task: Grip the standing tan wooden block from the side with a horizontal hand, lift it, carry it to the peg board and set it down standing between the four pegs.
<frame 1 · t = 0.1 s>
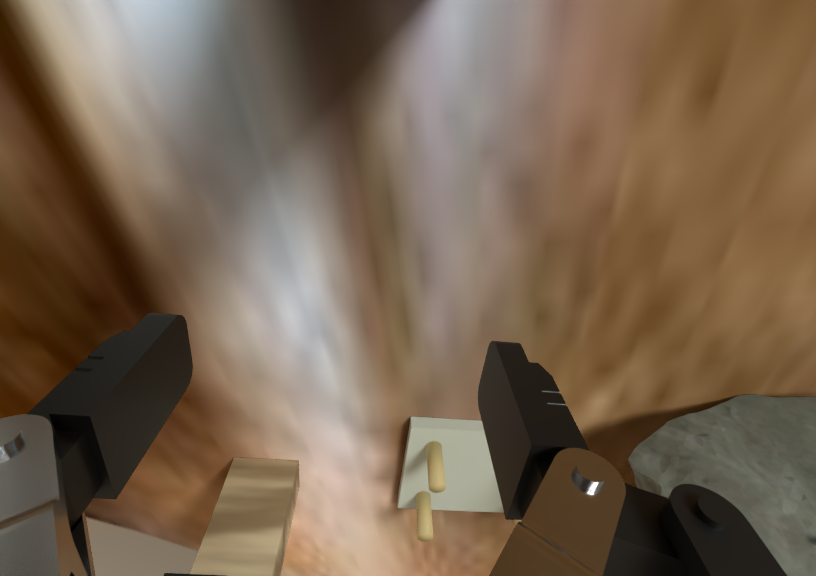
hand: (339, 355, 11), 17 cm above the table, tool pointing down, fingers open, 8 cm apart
tan wooden block: (267, 472, 41), on the table
rock: (733, 394, 37), on the table
peg board: (475, 463, 41), on the table
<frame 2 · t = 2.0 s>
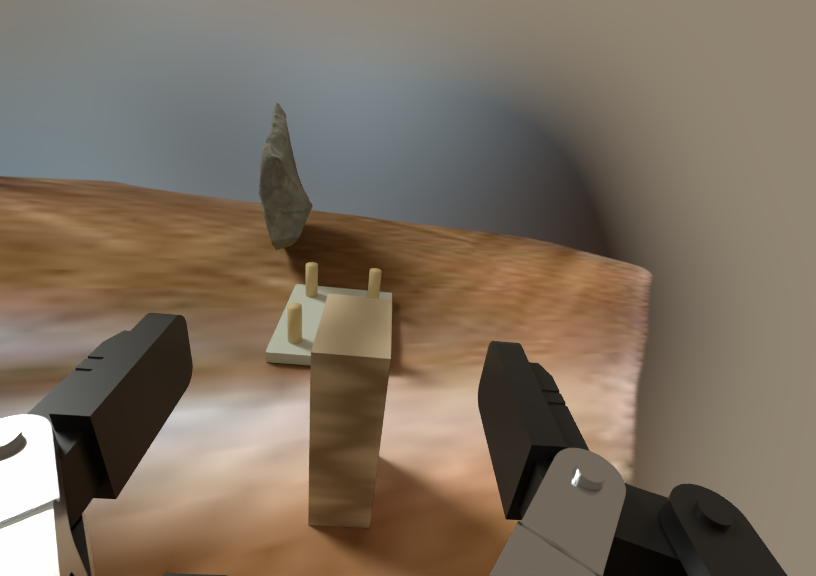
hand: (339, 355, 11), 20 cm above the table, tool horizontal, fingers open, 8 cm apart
tan wooden block: (344, 486, 31), on the table
rock: (282, 246, 66), on the table
peg board: (337, 327, 48), on the table
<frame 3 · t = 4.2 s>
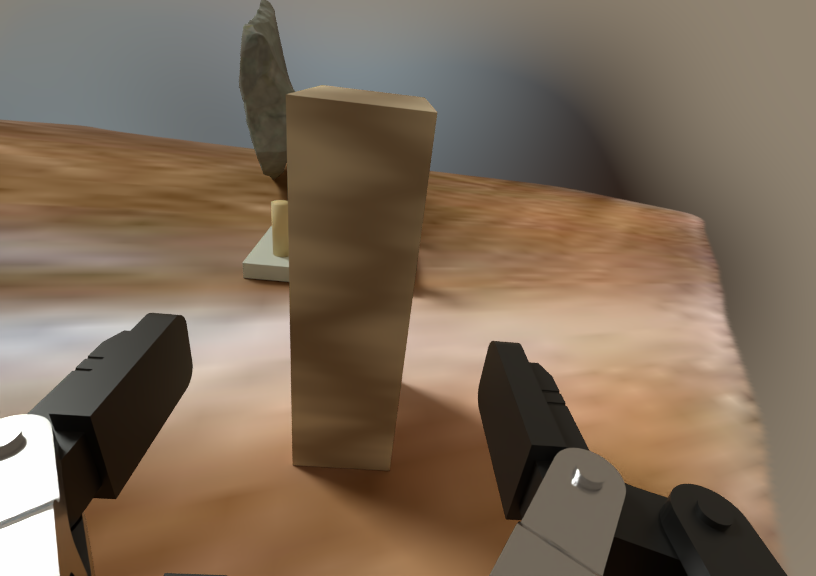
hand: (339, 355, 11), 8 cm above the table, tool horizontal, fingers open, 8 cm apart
tan wooden block: (348, 415, 20), on the table
rock: (273, 181, 56), on the table
peg board: (337, 249, 38), on the table
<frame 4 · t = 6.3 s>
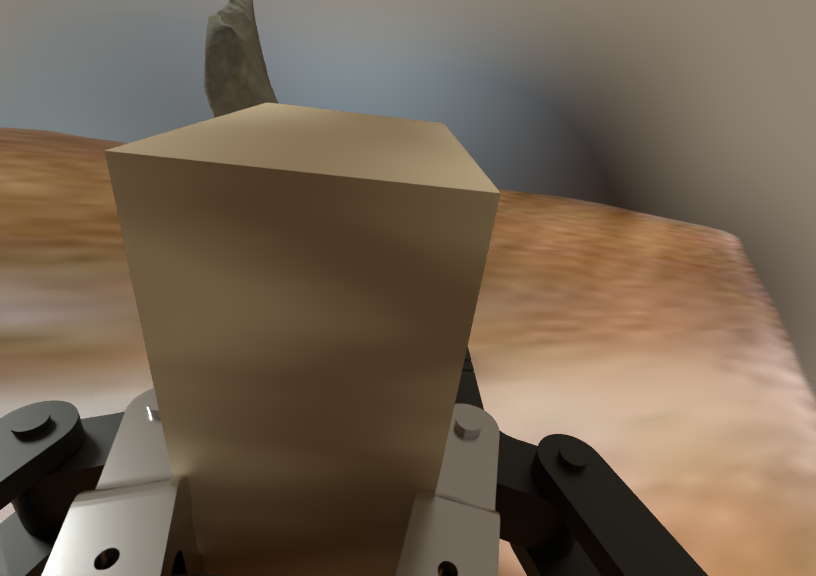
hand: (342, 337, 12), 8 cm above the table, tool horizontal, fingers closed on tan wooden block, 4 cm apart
rock: (254, 197, 49), on the table
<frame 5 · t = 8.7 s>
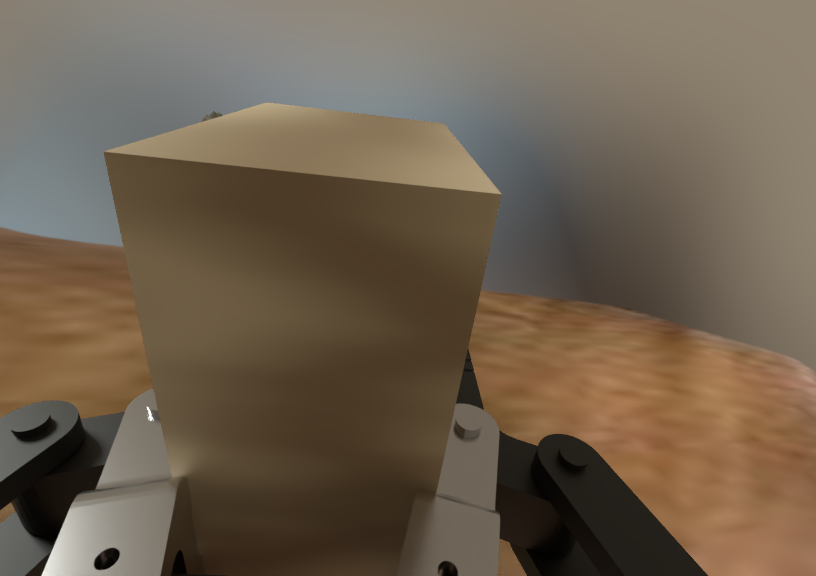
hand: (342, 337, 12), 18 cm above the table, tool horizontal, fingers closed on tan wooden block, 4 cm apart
when the fingers open (10 cm above the table, at t = 11.1 s): tan wooden block drops 1 cm, resting on peg board.
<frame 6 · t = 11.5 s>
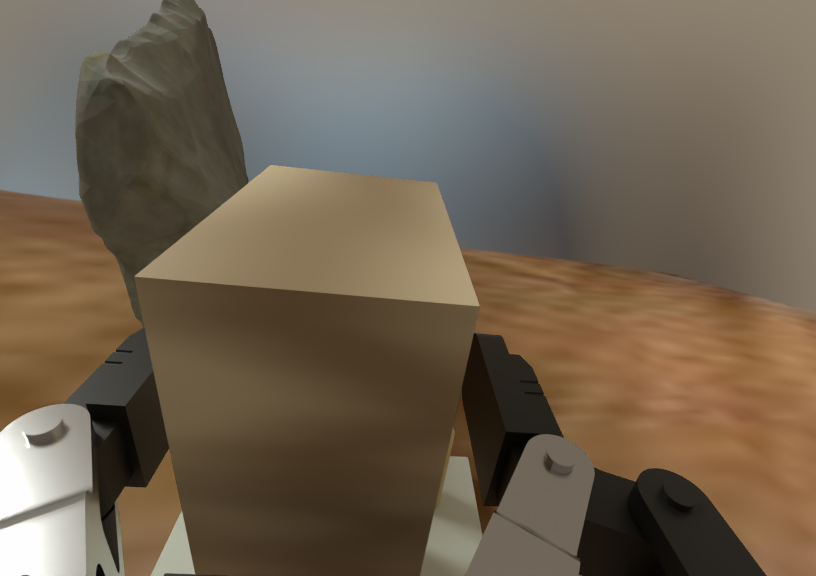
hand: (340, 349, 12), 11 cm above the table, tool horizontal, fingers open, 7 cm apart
rock: (217, 307, 32), on the table
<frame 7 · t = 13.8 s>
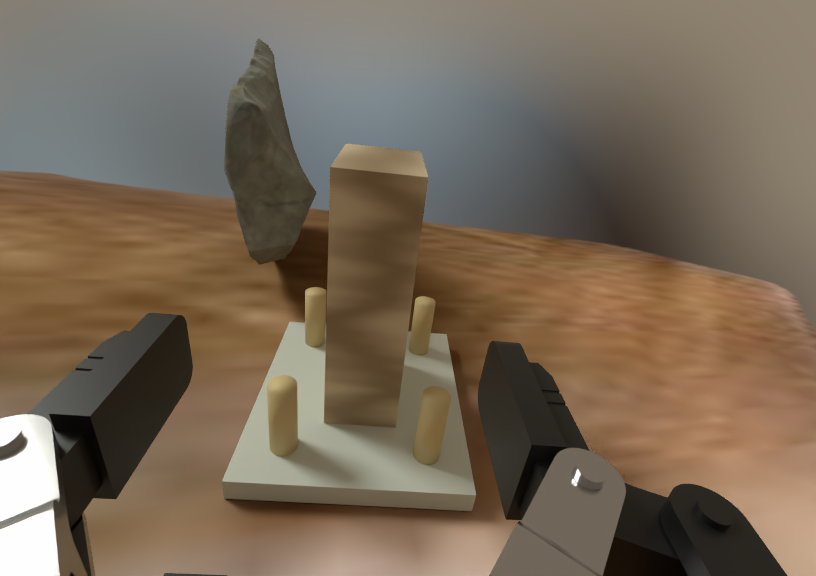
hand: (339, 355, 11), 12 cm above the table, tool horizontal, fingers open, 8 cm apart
tan wooden block: (363, 389, 26), point 1 cm above the table, touching peg board
rock: (271, 258, 45), on the table
peg board: (361, 404, 27), on the table
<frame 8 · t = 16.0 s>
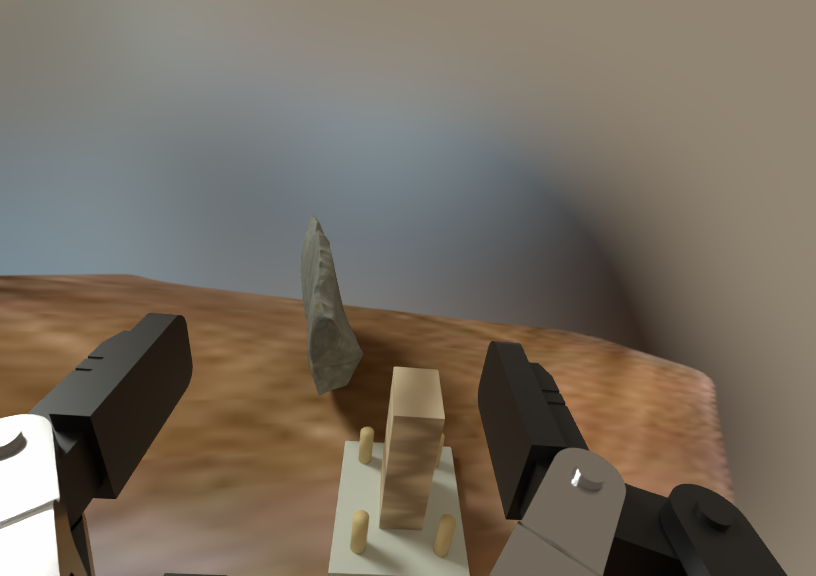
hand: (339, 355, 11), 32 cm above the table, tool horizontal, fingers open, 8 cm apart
tan wooden block: (400, 499, 42), point 1 cm above the table, touching peg board
rock: (319, 368, 60), on the table
peg board: (398, 507, 43), on the table
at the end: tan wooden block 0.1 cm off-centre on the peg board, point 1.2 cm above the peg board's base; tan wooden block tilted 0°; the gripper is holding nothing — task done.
